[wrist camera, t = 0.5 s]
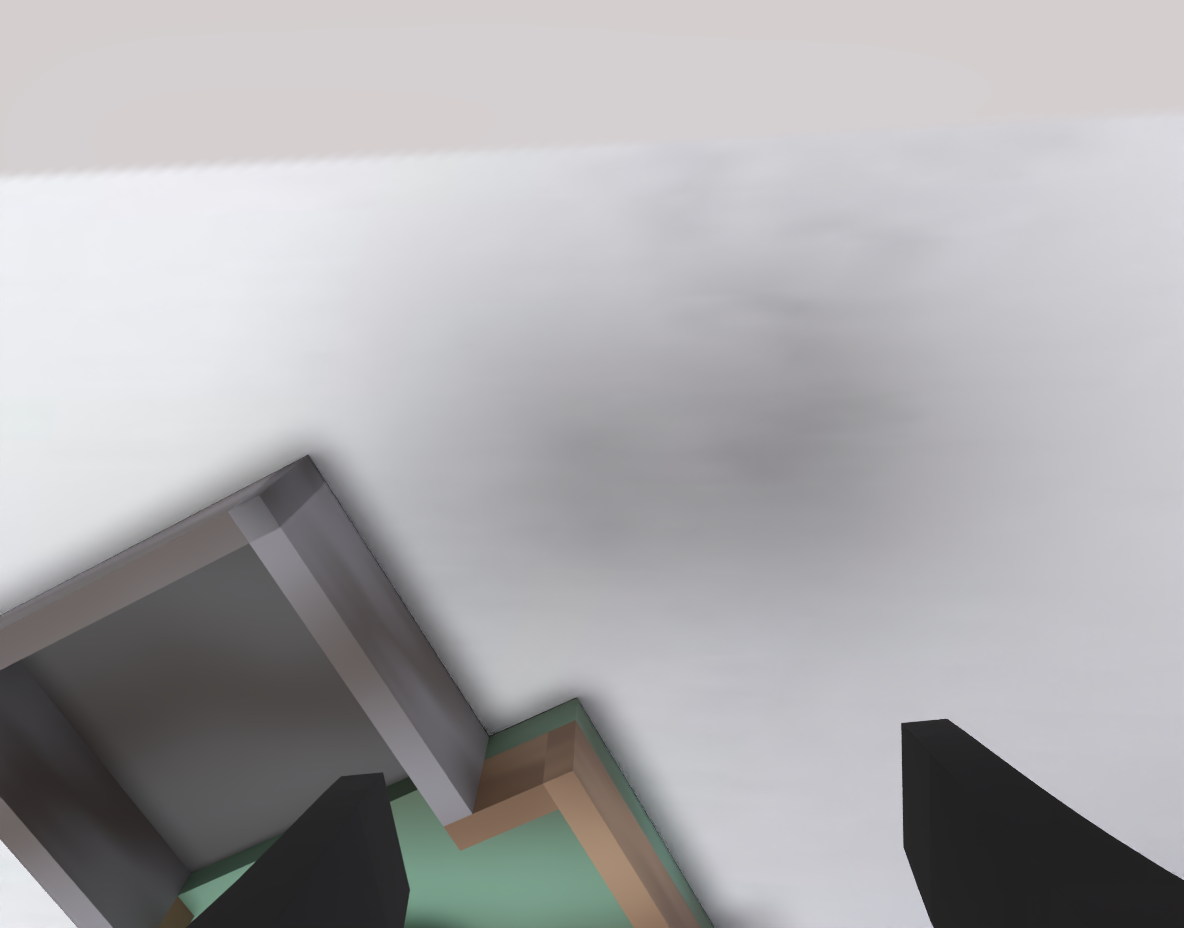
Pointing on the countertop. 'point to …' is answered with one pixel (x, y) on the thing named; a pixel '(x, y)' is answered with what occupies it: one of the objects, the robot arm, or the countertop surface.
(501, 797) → the pitch
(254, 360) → the countertop surface
